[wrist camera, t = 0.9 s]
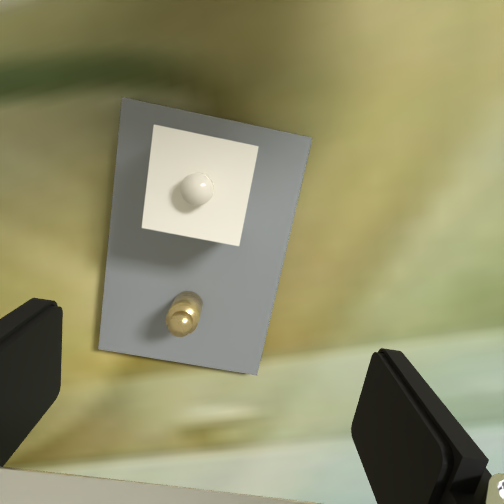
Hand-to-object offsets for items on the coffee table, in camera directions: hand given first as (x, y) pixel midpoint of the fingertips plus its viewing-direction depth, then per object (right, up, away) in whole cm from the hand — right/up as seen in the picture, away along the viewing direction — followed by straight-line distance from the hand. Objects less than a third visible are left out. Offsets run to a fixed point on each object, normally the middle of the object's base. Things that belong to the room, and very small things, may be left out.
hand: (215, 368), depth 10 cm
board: (-4, +4, +20) cm, 21 cm away
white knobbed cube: (-2, +9, +18) cm, 20 cm away
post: (-5, -1, +21) cm, 21 cm away
